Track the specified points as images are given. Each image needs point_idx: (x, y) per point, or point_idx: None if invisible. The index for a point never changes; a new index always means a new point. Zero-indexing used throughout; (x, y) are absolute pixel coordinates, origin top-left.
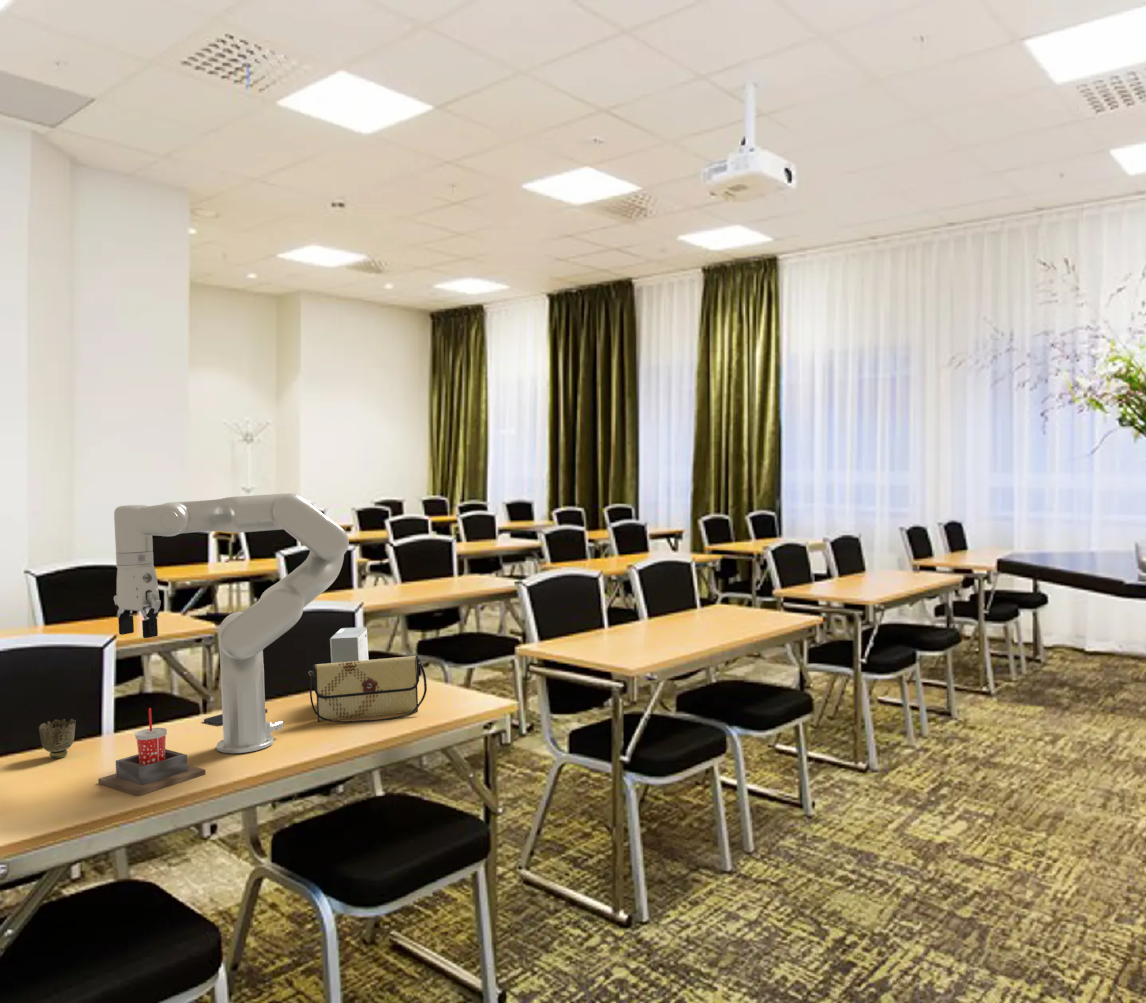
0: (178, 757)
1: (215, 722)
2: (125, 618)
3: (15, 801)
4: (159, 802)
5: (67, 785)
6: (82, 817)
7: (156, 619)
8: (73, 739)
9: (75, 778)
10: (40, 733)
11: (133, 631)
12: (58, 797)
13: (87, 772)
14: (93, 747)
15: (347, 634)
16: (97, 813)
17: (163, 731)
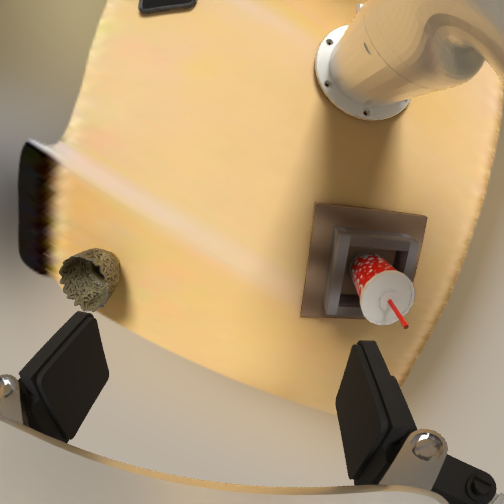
0: (415, 258)
1: (179, 6)
2: (63, 417)
3: (260, 384)
4: (438, 314)
5: (263, 333)
6: None
7: (405, 421)
8: (108, 255)
9: (242, 312)
10: (90, 304)
11: (94, 320)
12: (299, 360)
13: (230, 289)
14: (103, 204)
15: None
16: (394, 363)
17: (411, 288)
